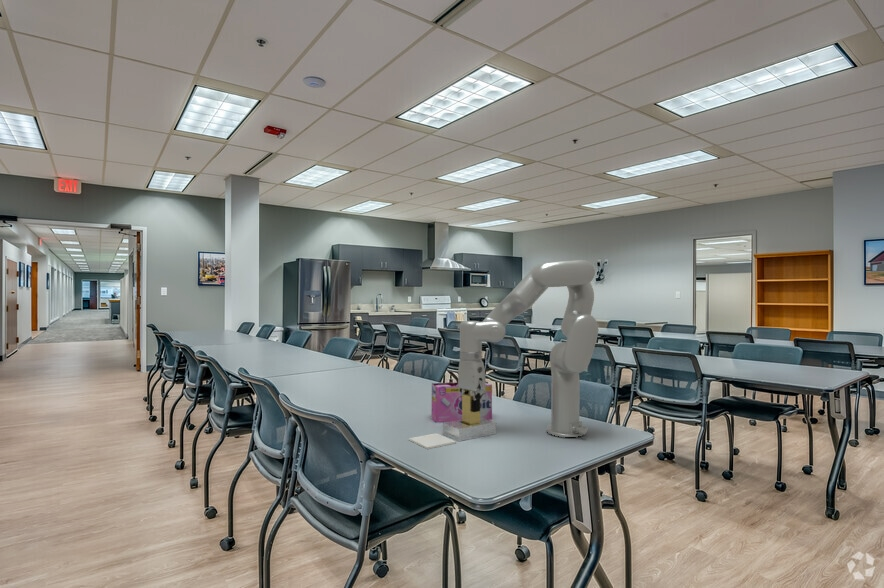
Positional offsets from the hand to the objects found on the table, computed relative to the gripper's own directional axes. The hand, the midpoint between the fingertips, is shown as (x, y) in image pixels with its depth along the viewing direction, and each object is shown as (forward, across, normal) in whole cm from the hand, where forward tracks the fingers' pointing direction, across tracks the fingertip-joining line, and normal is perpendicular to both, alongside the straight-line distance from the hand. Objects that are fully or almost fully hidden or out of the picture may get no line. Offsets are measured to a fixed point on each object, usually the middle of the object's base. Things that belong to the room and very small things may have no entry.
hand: (471, 409), depth 159 cm
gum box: (+9, +19, -10) cm, 23 cm away
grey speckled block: (+8, 0, 0) cm, 8 cm away
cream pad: (+8, 0, +16) cm, 18 cm away
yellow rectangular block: (+5, 0, 0) cm, 5 cm away
